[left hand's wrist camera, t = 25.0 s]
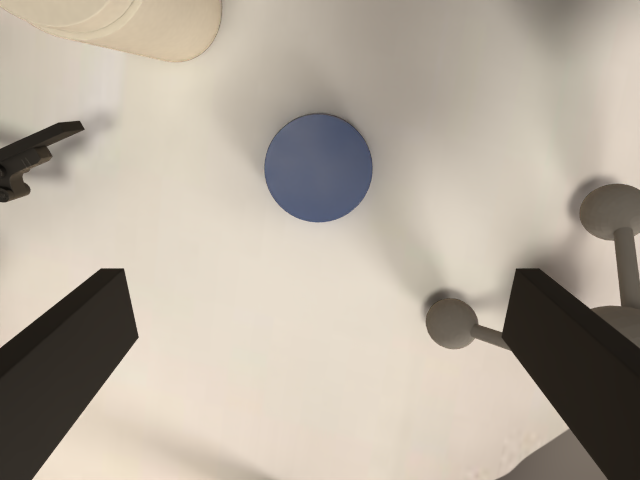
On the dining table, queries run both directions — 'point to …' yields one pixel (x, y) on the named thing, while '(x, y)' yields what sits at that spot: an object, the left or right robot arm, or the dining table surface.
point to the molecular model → (629, 319)
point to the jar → (128, 24)
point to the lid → (318, 168)
